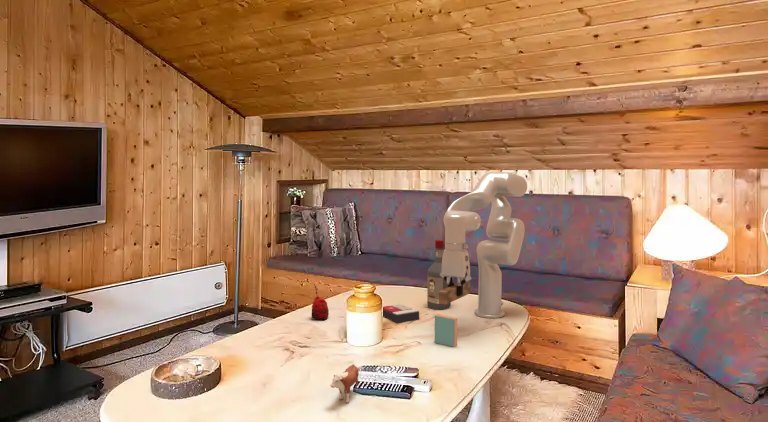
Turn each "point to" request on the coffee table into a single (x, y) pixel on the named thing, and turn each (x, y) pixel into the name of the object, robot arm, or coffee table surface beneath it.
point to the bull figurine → (346, 381)
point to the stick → (452, 293)
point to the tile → (446, 330)
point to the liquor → (436, 280)
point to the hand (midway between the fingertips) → (455, 294)
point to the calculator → (400, 313)
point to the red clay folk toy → (319, 308)
